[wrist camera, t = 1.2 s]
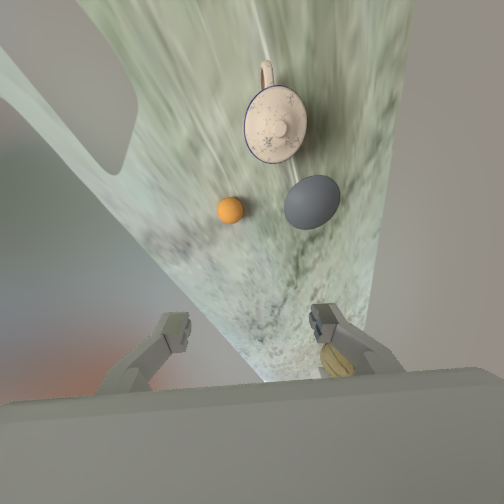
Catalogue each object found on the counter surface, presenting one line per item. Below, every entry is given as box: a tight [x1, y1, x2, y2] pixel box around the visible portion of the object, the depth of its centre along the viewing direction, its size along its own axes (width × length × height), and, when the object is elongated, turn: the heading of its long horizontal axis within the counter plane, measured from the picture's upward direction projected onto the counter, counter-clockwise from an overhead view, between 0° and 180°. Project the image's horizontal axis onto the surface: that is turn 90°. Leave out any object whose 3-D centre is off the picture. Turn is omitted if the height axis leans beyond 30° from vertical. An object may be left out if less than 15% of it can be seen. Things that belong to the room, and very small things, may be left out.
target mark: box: [284, 175, 340, 230], centre depth 41 cm, size 13×13×1 cm
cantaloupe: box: [320, 343, 356, 377], centre depth 76 cm, size 15×15×15 cm
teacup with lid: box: [243, 60, 307, 164], centre depth 27 cm, size 12×9×12 cm
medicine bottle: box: [310, 367, 330, 379], centre depth 95 cm, size 7×7×12 cm
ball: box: [217, 197, 243, 224], centre depth 38 cm, size 6×6×6 cm
